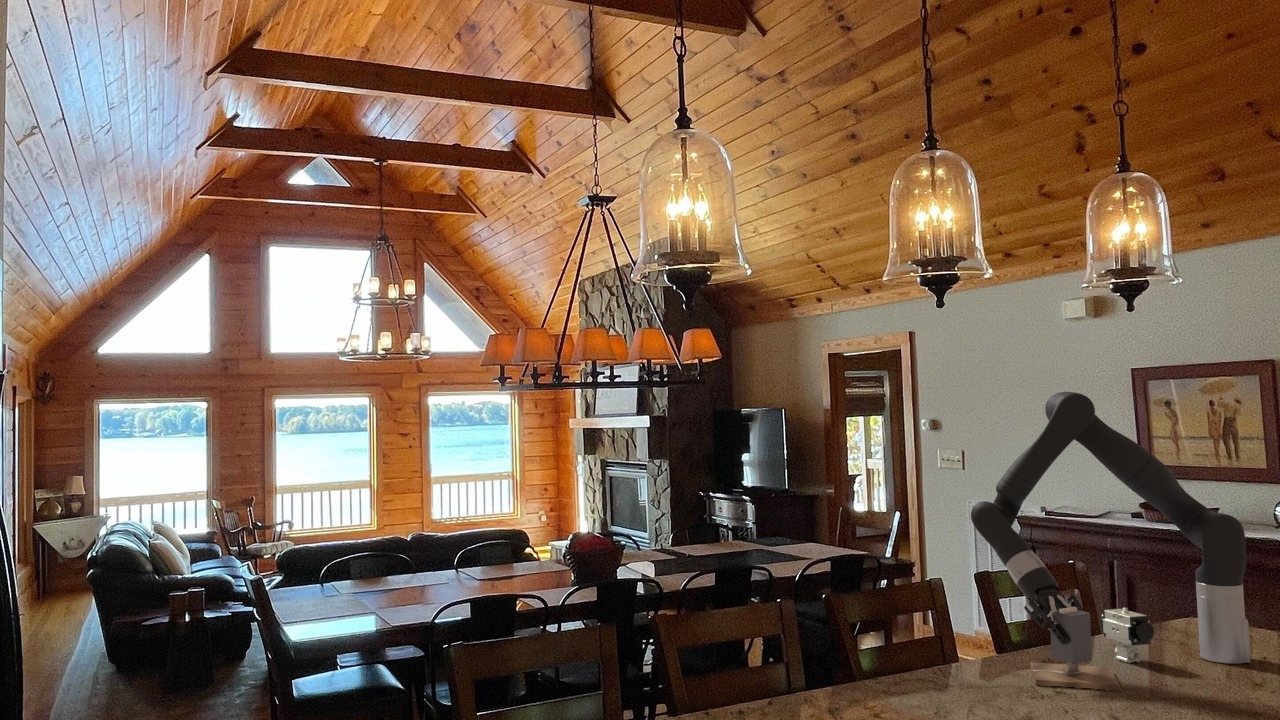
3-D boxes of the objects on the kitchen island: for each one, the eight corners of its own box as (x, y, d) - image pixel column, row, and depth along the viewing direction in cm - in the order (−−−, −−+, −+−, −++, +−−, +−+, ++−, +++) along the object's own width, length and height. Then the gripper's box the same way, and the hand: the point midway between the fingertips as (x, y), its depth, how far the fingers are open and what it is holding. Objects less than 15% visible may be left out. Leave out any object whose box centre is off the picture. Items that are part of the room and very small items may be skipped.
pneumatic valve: (1117, 653, 217) (1114, 602, 218) (1156, 666, 206) (1153, 612, 207) (1097, 656, 216) (1094, 604, 217) (1136, 668, 205) (1133, 614, 205)
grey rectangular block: (1070, 654, 202) (1068, 604, 203) (1092, 660, 197) (1089, 609, 198) (1051, 657, 200) (1049, 606, 201) (1073, 663, 195) (1070, 611, 195)
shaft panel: (1109, 672, 202) (1108, 643, 203) (1120, 691, 189) (1118, 660, 189) (1030, 667, 207) (1029, 639, 208) (1035, 685, 194) (1034, 655, 195)
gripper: (1016, 568, 203) (1063, 634, 192) (1063, 563, 209) (1111, 627, 198) (998, 588, 208) (1043, 654, 196) (1045, 583, 214) (1091, 646, 202)
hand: (1077, 640), depth 197 cm, fingers closed on grey rectangular block, 5 cm apart
